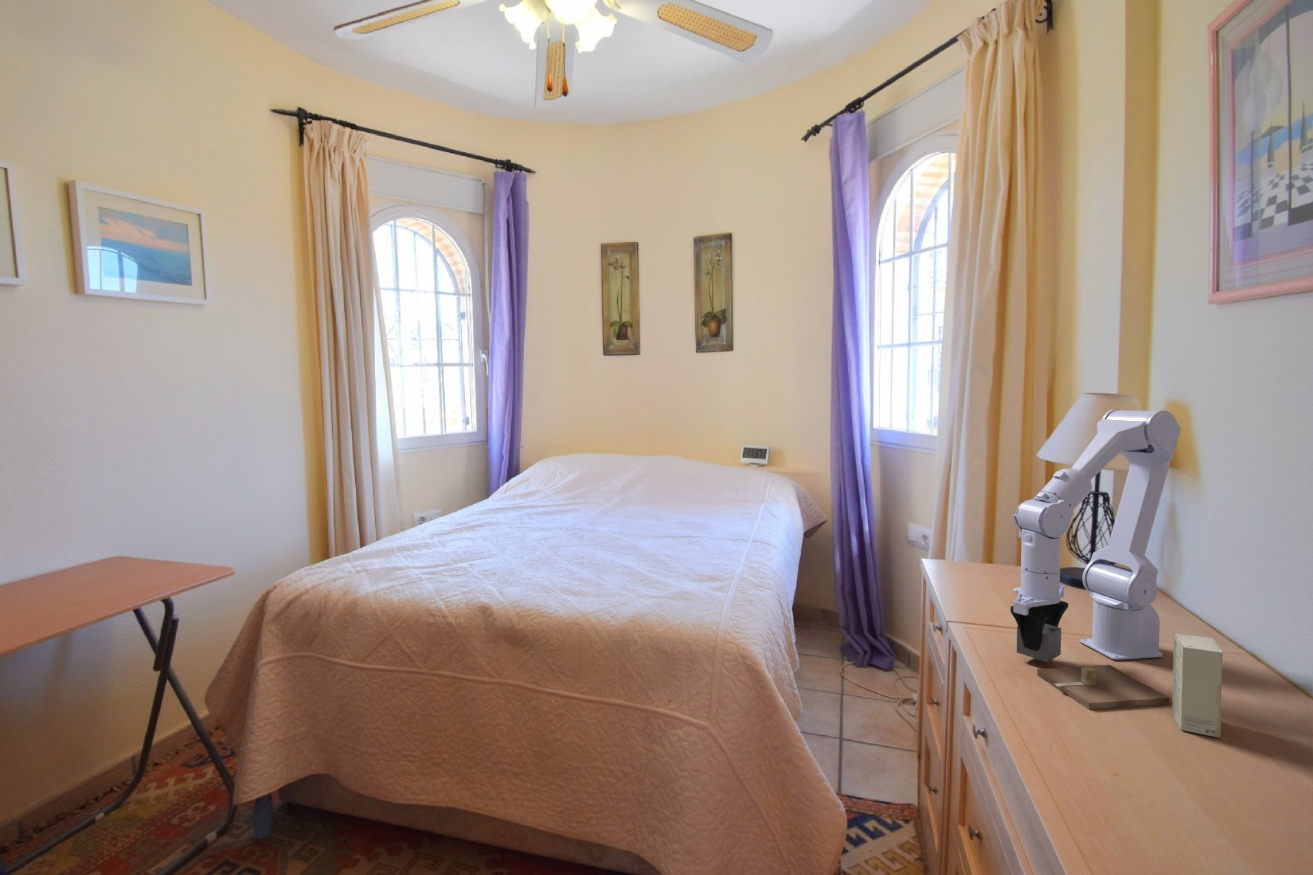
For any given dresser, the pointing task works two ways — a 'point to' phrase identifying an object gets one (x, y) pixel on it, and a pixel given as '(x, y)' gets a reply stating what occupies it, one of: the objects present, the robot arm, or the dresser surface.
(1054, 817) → the dresser surface
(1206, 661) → the skincare box
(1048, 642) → the mini file drawer
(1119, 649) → the robot arm
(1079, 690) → the board
